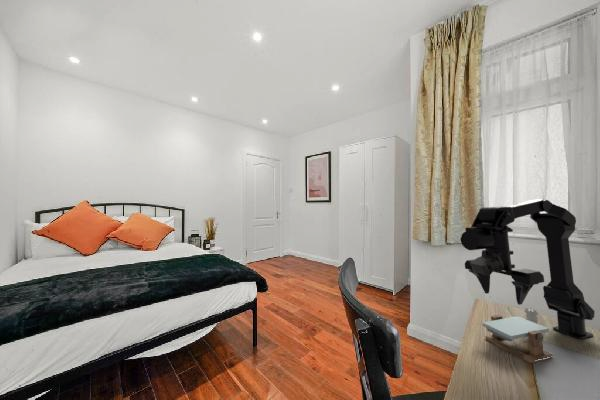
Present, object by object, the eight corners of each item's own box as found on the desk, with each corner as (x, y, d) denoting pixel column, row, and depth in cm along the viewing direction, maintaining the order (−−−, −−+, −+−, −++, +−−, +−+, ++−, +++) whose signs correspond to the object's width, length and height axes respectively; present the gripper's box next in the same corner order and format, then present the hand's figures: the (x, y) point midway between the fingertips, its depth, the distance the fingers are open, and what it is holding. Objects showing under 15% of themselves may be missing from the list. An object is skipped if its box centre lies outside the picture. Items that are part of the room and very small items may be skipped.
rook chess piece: (547, 338, 71) (544, 312, 71) (530, 337, 72) (528, 311, 72) (535, 330, 75) (533, 306, 76) (520, 329, 76) (517, 305, 77)
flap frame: (504, 334, 74) (502, 312, 74) (553, 358, 62) (550, 332, 62) (484, 338, 72) (482, 316, 73) (531, 363, 60) (528, 336, 60)
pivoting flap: (517, 322, 73) (517, 316, 73) (549, 335, 65) (548, 328, 65) (482, 329, 70) (482, 322, 70) (511, 343, 62) (511, 336, 62)
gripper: (449, 245, 77) (453, 291, 76) (510, 255, 59) (517, 316, 58) (475, 242, 79) (480, 287, 78) (542, 251, 61) (549, 309, 60)
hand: (502, 298), depth 69 cm, fingers open, 9 cm apart
